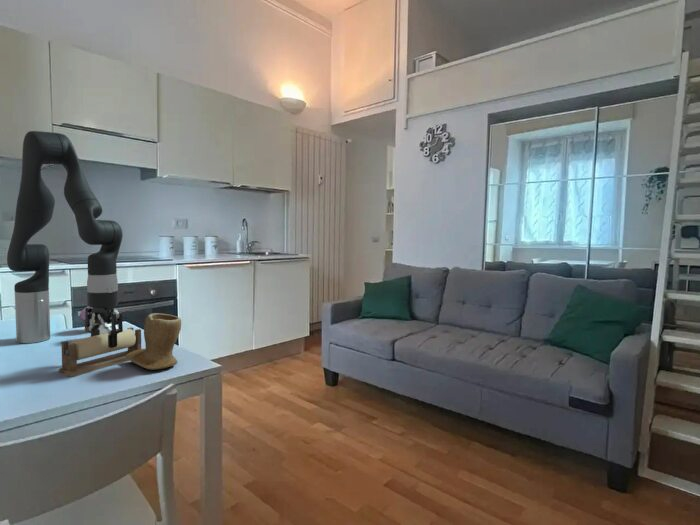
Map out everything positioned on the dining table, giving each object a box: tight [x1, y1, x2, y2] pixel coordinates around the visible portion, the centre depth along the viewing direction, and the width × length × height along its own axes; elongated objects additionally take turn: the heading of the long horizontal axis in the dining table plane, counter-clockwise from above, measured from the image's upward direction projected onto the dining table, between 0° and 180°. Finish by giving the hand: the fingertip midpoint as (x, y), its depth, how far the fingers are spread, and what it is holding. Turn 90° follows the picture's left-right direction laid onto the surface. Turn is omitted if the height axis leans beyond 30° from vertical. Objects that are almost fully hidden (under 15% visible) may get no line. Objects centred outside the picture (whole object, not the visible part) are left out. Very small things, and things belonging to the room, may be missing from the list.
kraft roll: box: [65, 328, 136, 361], centre depth 116 cm, size 6×20×6 cm, turn 152°
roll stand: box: [58, 327, 142, 378], centre depth 116 cm, size 6×21×8 cm, turn 152°
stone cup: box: [126, 312, 182, 370], centre depth 117 cm, size 15×12×15 cm
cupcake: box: [79, 305, 91, 332], centre depth 152 cm, size 9×9×10 cm
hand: (104, 344), depth 116 cm, fingers open, 8 cm apart
